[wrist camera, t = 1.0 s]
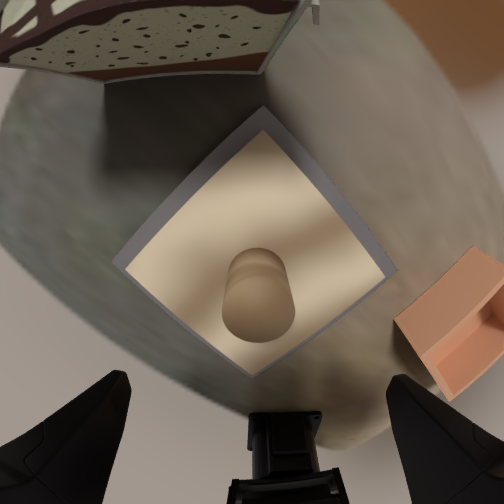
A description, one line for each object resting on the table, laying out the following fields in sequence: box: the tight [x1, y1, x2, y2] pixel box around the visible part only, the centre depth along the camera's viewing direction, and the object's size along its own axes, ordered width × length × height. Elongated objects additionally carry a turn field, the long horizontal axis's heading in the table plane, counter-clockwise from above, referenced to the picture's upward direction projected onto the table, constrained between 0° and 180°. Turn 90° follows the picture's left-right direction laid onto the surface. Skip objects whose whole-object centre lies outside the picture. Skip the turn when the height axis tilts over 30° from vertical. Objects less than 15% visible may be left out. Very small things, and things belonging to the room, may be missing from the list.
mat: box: [112, 105, 398, 379], centre depth 18 cm, size 13×13×1 cm
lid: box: [125, 130, 385, 375], centre depth 15 cm, size 11×11×5 cm
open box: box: [394, 246, 504, 402], centre depth 18 cm, size 8×8×4 cm
